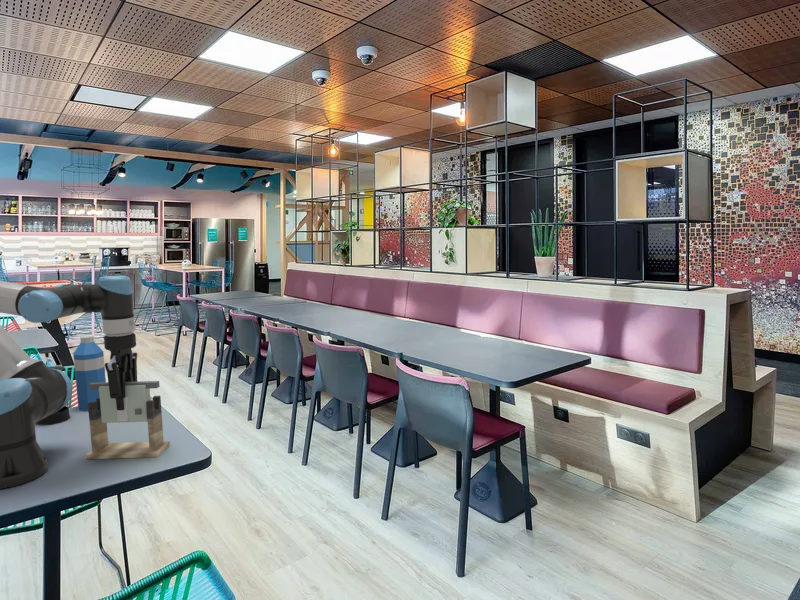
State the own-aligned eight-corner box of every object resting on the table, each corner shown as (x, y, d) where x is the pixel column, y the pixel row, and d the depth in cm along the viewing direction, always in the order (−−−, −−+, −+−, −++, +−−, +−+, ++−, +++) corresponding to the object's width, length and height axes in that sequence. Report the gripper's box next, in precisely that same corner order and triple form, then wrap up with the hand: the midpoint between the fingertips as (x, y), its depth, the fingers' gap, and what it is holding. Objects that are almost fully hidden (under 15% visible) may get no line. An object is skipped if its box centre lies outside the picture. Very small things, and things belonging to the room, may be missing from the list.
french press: (72, 413, 179) (66, 346, 176) (72, 421, 171) (66, 351, 168) (30, 419, 173) (23, 350, 170) (28, 428, 165) (20, 356, 162)
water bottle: (86, 413, 178) (80, 340, 175) (72, 408, 183) (65, 337, 180) (113, 405, 186) (108, 335, 183) (99, 401, 191) (93, 333, 188)
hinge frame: (85, 459, 141) (80, 405, 139) (101, 447, 149) (97, 395, 147) (158, 457, 142) (154, 403, 140) (169, 445, 150) (166, 394, 148)
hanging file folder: (89, 424, 142) (85, 385, 140) (96, 419, 145) (93, 381, 144) (157, 422, 142) (154, 384, 141) (162, 417, 146) (160, 380, 145)
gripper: (119, 339, 133) (126, 428, 136) (147, 328, 149) (153, 408, 152) (88, 339, 133) (96, 429, 136) (120, 328, 149) (126, 409, 152)
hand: (126, 418), depth 144 cm, fingers closed on hanging file folder, 3 cm apart
